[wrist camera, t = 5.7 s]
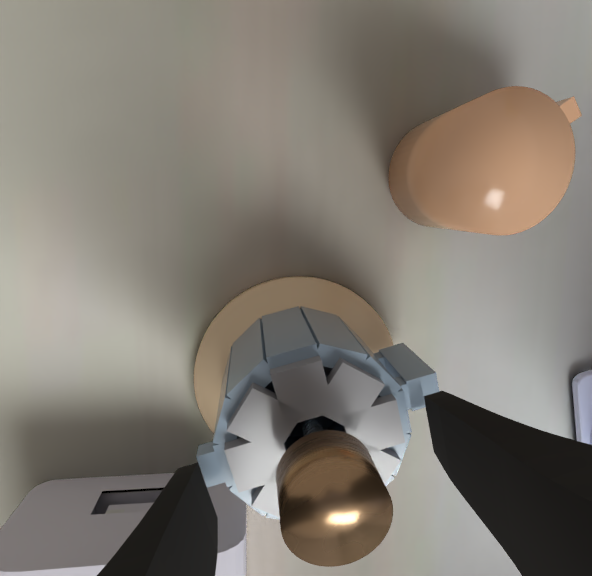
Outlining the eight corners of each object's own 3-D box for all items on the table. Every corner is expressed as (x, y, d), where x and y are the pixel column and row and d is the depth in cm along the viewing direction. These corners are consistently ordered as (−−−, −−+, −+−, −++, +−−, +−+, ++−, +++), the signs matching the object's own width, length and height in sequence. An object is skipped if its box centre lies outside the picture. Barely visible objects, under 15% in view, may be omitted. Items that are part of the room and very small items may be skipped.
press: (376, 251, 17) (434, 272, 11) (411, 429, 19) (474, 516, 14) (167, 307, 16) (128, 357, 11) (228, 484, 18) (219, 596, 13)
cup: (420, 246, 17) (482, 262, 12) (368, 159, 16) (416, 141, 11) (528, 172, 17) (629, 160, 12) (484, 78, 16) (577, 29, 11)
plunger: (336, 326, 16) (403, 420, 9) (357, 414, 17) (432, 559, 10) (238, 353, 16) (229, 472, 9) (265, 441, 17) (276, 610, 10)
